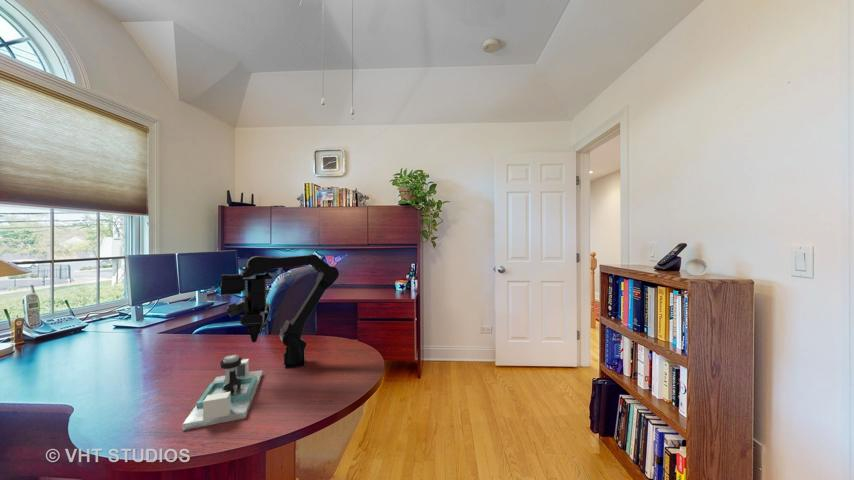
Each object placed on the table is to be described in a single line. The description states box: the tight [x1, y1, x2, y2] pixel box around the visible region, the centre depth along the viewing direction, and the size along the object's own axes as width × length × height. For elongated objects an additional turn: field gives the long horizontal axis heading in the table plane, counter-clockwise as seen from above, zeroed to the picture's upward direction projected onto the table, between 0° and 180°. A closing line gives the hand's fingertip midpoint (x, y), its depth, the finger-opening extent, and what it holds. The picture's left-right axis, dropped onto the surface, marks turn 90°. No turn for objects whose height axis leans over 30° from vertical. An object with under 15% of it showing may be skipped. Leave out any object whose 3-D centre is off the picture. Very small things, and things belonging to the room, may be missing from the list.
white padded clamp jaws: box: [203, 358, 250, 420], centre depth 84 cm, size 5×26×4 cm, turn 21°
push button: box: [219, 354, 243, 393], centre depth 84 cm, size 7×5×10 cm
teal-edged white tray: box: [182, 370, 263, 431], centre depth 84 cm, size 13×26×3 cm, turn 21°
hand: (256, 337), depth 101 cm, fingers open, 9 cm apart
